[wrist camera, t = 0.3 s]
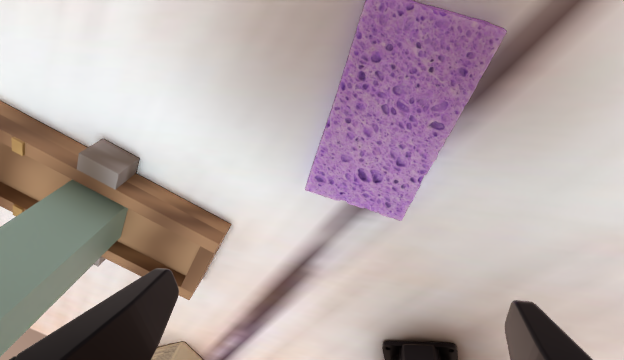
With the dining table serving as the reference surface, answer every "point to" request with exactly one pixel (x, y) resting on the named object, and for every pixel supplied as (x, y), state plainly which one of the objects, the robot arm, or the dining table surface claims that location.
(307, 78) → the dining table surface
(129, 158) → the wooden tray
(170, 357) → the skincare box
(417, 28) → the sponges
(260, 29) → the dining table surface
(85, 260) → the grey-green tall block
